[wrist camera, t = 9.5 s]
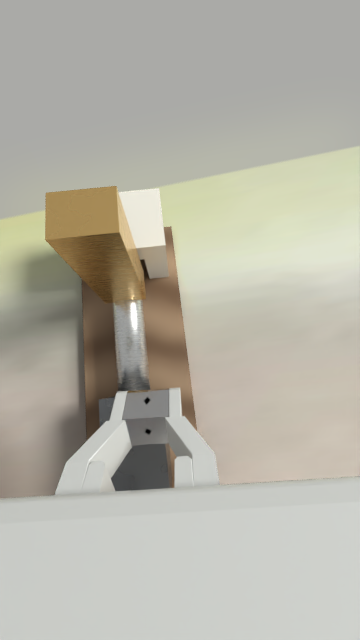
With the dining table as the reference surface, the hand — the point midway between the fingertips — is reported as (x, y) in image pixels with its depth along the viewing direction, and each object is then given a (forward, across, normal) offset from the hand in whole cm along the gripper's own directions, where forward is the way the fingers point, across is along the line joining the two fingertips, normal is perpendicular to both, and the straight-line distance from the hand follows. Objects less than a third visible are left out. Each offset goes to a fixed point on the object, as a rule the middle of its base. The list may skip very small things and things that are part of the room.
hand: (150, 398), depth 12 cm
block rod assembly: (+15, +4, +4) cm, 16 cm away
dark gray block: (+7, +3, +13) cm, 15 cm away
